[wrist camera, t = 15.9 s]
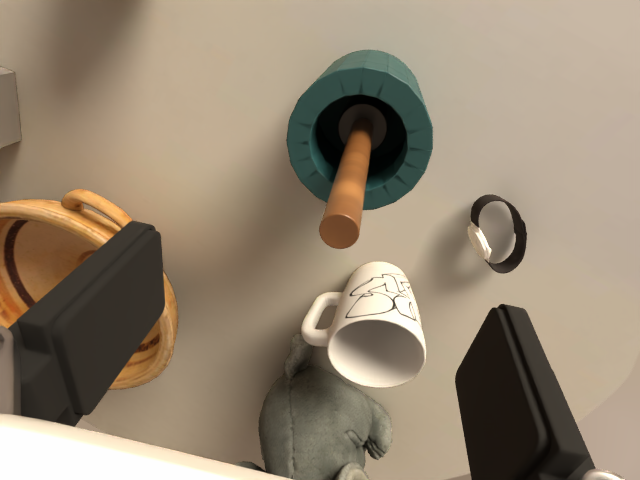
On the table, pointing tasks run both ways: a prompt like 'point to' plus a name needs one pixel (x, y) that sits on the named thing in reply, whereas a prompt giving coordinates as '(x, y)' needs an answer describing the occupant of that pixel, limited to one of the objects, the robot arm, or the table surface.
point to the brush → (353, 168)
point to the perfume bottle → (9, 109)
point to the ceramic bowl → (71, 267)
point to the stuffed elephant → (318, 424)
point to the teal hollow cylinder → (325, 111)
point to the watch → (481, 243)
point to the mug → (371, 328)
